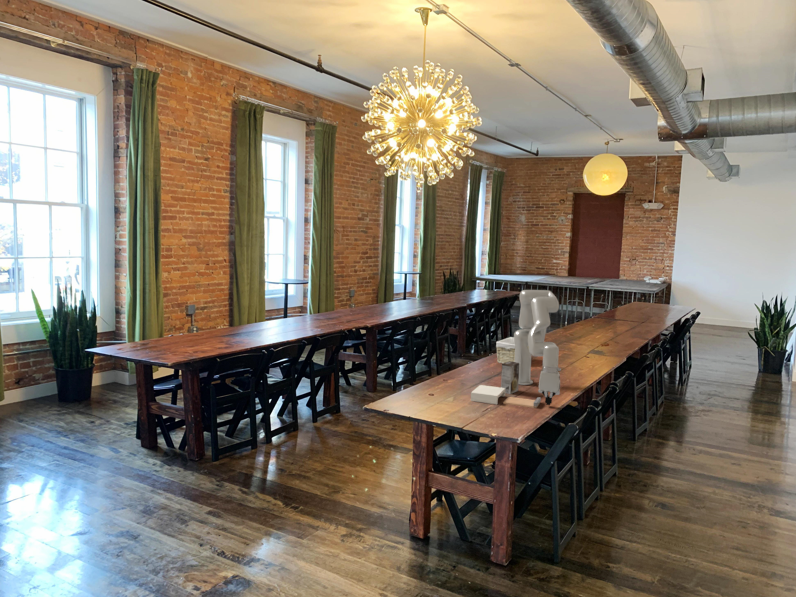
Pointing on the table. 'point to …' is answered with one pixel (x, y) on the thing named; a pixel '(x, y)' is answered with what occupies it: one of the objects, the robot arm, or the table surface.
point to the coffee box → (510, 377)
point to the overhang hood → (487, 394)
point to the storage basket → (506, 350)
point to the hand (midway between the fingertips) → (548, 404)
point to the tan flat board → (523, 402)
